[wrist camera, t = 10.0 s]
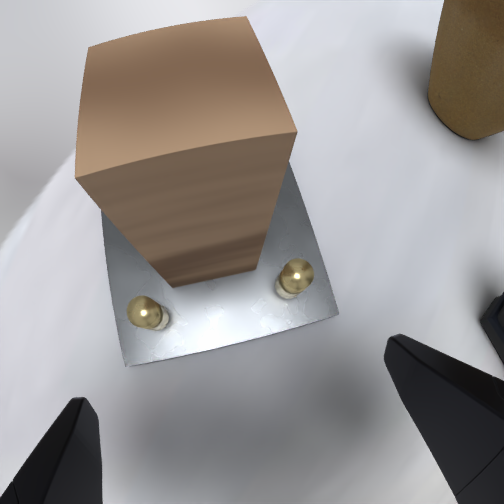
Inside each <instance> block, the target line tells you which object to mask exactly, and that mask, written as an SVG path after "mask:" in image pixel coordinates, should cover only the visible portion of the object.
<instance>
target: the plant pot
mask: <svg viewBox="0 0 504 504" xmlns="http://www.w3.org/2000/svg"><path fill="white" fill-rule="evenodd" d="M428 99H429V102H430V105H431V107H432V109H433V110H434V112H435V113H436V115H437V116H438V117H439V118H440V120H441V121H442V122H443V123H444V124H445V125H446V126H447V127H449V128H450V129H451V130H452V131H454V132H455V133H457V134H458V135H460V136H462V137H464V138H467V139H470V140H477V139H480V138H484V137H487V136H490V135H493V134H496V133H499V132H502V131H504V0H444V4H443V8H442V12H441V17H440V21H439V26H438V31H437V36H436V41H435V47H434V53H433V59H432V65H431V72H430V80H429V88H428Z"/></svg>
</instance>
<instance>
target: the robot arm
mask: <svg viewBox="0 0 504 504" xmlns="http://www.w3.org/2000/svg"><path fill="white" fill-rule="evenodd" d="M384 362H385V364H386V367H387V369H388V371H389V373H390V375H391V378H392V380H393V382H394V384H395V387H396V389H397V391H398V393H399V396H400V398H401V400H402V402H403V404H404V405H405V407H406V409H407V411H408V412H409V414H410V416H411V418H412V419H413V421H414V423H415V424H416V426H417V428H418V430H419V432H420V433H421V435H422V437H423V439H424V440H425V442H426V444H427V446H428V448H429V449H430V451H431V453H432V455H433V457H434V458H435V460H436V462H437V464H438V466H439V468H440V469H441V471H442V473H443V475H444V477H445V479H446V481H447V483H448V485H449V486H450V488H451V490H452V492H453V494H454V496H455V498H456V500H457V502H458V504H504V381H503V380H501V379H499V378H497V377H494V376H493V377H492V375H490V374H488V373H485V372H483V371H481V370H479V369H477V368H475V367H472V366H470V365H468V364H466V363H464V362H461V361H459V360H457V359H455V358H453V357H451V356H448V355H446V354H444V353H442V352H440V351H438V350H435V349H433V348H431V347H429V346H427V345H425V344H422V343H420V342H418V341H416V340H414V339H412V338H410V337H407V336H405V335H403V334H397V335H394V336H391V337H390V338H389V339H388V341H387V345H386V349H385V354H384ZM0 504H103V501H102V458H101V447H100V435H99V420H98V416H97V414H96V412H95V411H94V409H93V408H92V406H91V404H90V403H89V401H88V400H87V399H86V398H85V397H75V398H72V399H71V400H70V401H69V403H68V404H67V405H66V407H65V408H64V409H63V411H62V412H61V413H60V415H59V416H58V417H57V419H56V420H55V421H54V423H53V424H52V425H51V427H50V428H49V429H48V431H47V432H46V433H45V435H44V436H43V438H42V439H41V440H40V442H39V443H38V444H37V446H36V447H35V449H34V450H33V451H32V453H31V454H30V456H29V457H28V458H27V460H26V461H25V463H24V464H23V466H22V467H21V468H20V470H19V471H18V473H17V474H16V476H15V477H14V479H13V481H12V482H11V483H10V484H9V486H8V487H7V489H6V490H5V491H4V493H3V494H2V496H1V497H0Z"/></svg>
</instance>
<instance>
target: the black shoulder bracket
mask: <svg viewBox="0 0 504 504" xmlns="http://www.w3.org/2000/svg"><path fill="white" fill-rule="evenodd" d="M481 324H482V326H483V328H484V329H485V331H486V333H487V334H488V336H489V338H490V340H491V341H492V343H493V345H494V347H495V348H496V350H497V352H498V354H499V356H500V357H501V359H502V361H503V363H504V292H503V294H502V296H499V297H496V298H495V299H494V301H493V302H492V304H491V305H490V307H489V308H488V310H487V311H486V313H485V314H484V316H483V317H482V319H481Z"/></svg>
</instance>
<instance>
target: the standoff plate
mask: <svg viewBox="0 0 504 504" xmlns="http://www.w3.org/2000/svg"><path fill="white" fill-rule="evenodd" d="M101 215H102V226H103V237H104V246H105V255H106V263H107V270H108V277H109V284H110V291H111V297H112V303H113V309H114V315H115V320H116V325H117V330H118V335H119V340H120V345H121V350H122V354H123V359H124V363H125V367H127V366H133V365H138V364H144V363H149V362H154V361H159V360H164V359H169V358H174V357H179V356H184V355H188V354H193V353H197V352H202V351H206V350H211V349H215V348H219V347H223V346H227V345H232V344H236V343H240V342H244V341H248V340H251V339H255V338H259V337H263V336H267V335H270V334H274V333H278V332H281V331H285V330H289V329H292V328H296V327H299V326H303V325H306V324H309V323H313V322H316V321H319V320H323V319H326V318H329V317H332V316H336V315H339V312H338V308H337V305H336V301H335V298H334V295H333V291H332V288H331V285H330V282H329V278H328V275H327V272H326V269H325V265H324V262H323V259H322V256H321V253H320V250H319V247H318V244H317V241H316V238H315V234H314V231H313V228H312V225H311V222H310V220H309V217H308V214H307V211H306V208H305V205H304V202H303V199H302V196H301V193H300V191H299V188H298V185H297V182H296V179H295V177H294V174H293V171H292V168H291V166H290V163H289V162H288V165H287V169H286V172H285V175H284V179H283V182H282V185H281V189H280V192H279V195H278V199H277V202H276V205H275V208H274V212H273V215H272V218H271V222H270V225H269V228H268V232H267V235H266V238H265V241H264V245H263V248H262V251H261V255H260V258H259V261H258V264H257V268H256V270H253V271H249V272H244V273H240V274H235V275H231V276H226V277H222V278H217V279H212V280H208V281H203V282H198V283H194V284H189V285H184V286H180V287H175V288H172V287H171V286H170V285H169V284H168V283H167V282H166V281H165V280H164V279H163V278H162V277H161V275H160V274H159V273H158V272H157V271H156V270H155V269H154V268H153V267H152V266H151V265H150V264H149V263H148V262H147V261H146V259H145V258H144V257H143V256H142V255H141V254H140V253H139V252H138V251H137V250H136V249H135V247H134V246H133V245H132V244H131V243H130V242H129V241H128V240H127V239H126V238H125V236H124V235H123V234H122V233H121V232H120V231H119V230H118V229H117V227H116V226H115V225H114V224H113V223H112V222H111V221H110V219H109V218H108V217H107V216H106V215H105V214H104V212H103V211H102V210H101Z"/></svg>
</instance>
